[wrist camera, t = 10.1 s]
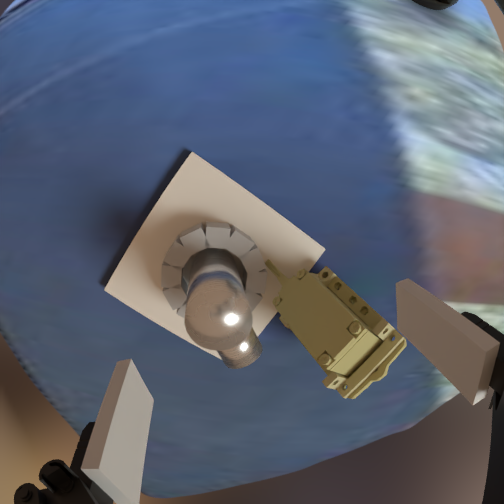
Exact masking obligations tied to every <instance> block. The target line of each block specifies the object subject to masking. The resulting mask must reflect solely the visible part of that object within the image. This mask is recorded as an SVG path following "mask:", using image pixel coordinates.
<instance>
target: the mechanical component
mask: <svg viewBox="0 0 504 504" xmlns="http://www.w3.org/2000/svg"><path fill="white" fill-rule="evenodd" d="M265 265H266V266H267V267H268V268H269V269H270V270H271V272H272V273H273V274H274V275H275V276H276V277H277V278H278V281H279V282H280V284H281V285H282V287H281V290H280V291H279V292H278V294H279V296H277V297H275V298H274V299H273V302H272V303H273V305H275V307H276V309H277V311H278V312H279V313H280V314H281V316H280V317H279V319H280V320H281V322H282V323H283V324H284V325H285V327H287V328H290V329H291V330H292V332H293V333H294V334H295V335H296V337H297V338H298V339H299V340H300V342H301V343H302V344H303V345H304V347H305V348H306V349H307V350H308V352H309V353H310V354H311V355H312V357H313V358H314V359H315V360H316V361H317V363H318V364H319V365H320V366H321V368H322V369H323V370H324V371H325V373H326V374H327V375H328V376H327V377H326V378H325V379H324V380H323V381H322V382H323V383H324V385H325V386H326V387H327V388H331V389H336V390H337V391H338V392H339V393H340V394H341V396H342V397H343V398H351V399H355V398H356V397H357V396H358V395H359V394H360V393H361V392H363V391H364V390H365V389H367V388H368V386H369V385H370V384H371V383H372V382H373V381H379V380H381V379H382V378H383V377H384V376H386V375H387V371H388V367H389V365H390V364H391V363H392V362H393V361H394V360H395V359H396V358H397V356H398V355H399V354H400V353H401V352H402V350H403V349H404V348H405V347H406V339H405V338H404V337H403V336H402V335H401V334H400V333H398V332H397V331H396V330H395V329H394V328H393V327H392V326H391V325H390V324H389V323H388V322H387V321H386V320H385V319H384V318H382V317H381V316H380V315H379V314H378V313H377V312H376V311H375V310H374V309H373V308H371V307H370V306H369V305H368V304H367V303H366V302H365V301H364V300H363V299H362V298H361V297H359V296H358V295H357V294H356V293H355V292H354V291H353V290H352V289H351V288H349V287H348V286H347V285H346V284H345V283H344V282H343V281H342V280H341V279H339V278H338V277H337V275H336V274H334V273H333V272H332V271H331V270H330V269H329V268H328V267H327V266H325V267H324V269H322V270H321V271H320V273H318V274H314V273H309V272H308V271H306V270H305V269H301V270H299V271H298V272H297V276H293V277H292V278H287V277H286V276H285V275H284V274H282V273H281V272H280V270H279V269H278V268H277V267H276V266H275V265H274V264H273V263H272V262H271V261H270V260H269V259H268V260H267V261H266V262H265ZM327 287H328V288H327ZM338 288H339V290H337V289H338ZM394 336H395V340H394V341H391V340H392V338H393V337H394ZM346 385H347V386H348V387H347V389H345V387H346Z"/></svg>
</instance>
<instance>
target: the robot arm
mask: <svg viewBox="0 0 504 504" xmlns="http://www.w3.org/2000/svg"><path fill="white" fill-rule="evenodd" d="M413 1H414V2H416V3H418V4H420V5H422V6H424V7H427V8H430V9H434V10H443V9H446V8H448V7H450V6H452V5H454V4H455V3H457V2H458V0H413ZM495 2H496V3H497V5H498V6H499V8H500V10H501V11H502V13H503V14H504V0H495ZM396 298H397V329H398V330H399V331H400V332H401V333H402V334H403V335H404V336H405V337H406V338H407V339H408V340H409V341H410V342H411V343H412V344H413V345H414V346H415V347H416V348H417V349H418V350H419V351H420V352H421V353H422V354H423V355H424V356H425V357H426V358H427V359H428V360H429V361H430V362H431V363H432V364H433V365H434V366H435V367H436V368H437V369H438V370H439V371H440V372H441V373H442V374H443V375H444V376H445V377H446V378H447V379H448V380H449V381H450V382H451V383H452V384H453V385H454V386H455V387H456V388H457V389H458V390H459V391H460V392H461V393H462V394H463V396H464V397H465V398H466V399H467V400H468V401H469V402H470V403H471V404H472V405H474V404H476V403H477V402H479V401H480V400H482V399H483V398H485V397H486V395H487V392H488V389H489V386H490V387H492V388H493V389H494V393H493V396H492V400H491V403H490V406H489V409H491V407H492V405H493V415H492V433H491V445H490V455H489V456H490V457H489V464H488V472H487V479H486V485H485V490H484V496H483V501H482V504H504V334H502V333H501V332H499V331H498V330H497V329H495V328H494V327H492V326H491V325H490V326H489V324H488V323H487V322H485V321H483V320H482V319H481V318H479V317H478V316H476V315H475V314H471V313H468V312H463V313H461V314H460V313H458V312H457V311H455V310H454V309H453V308H451V307H450V306H448V305H447V304H445V303H444V302H443V301H441V300H440V299H438V298H437V297H435V296H434V295H432V294H431V293H429V292H428V291H426V290H425V289H423V288H422V287H420V286H419V285H417V284H416V283H414V282H413V281H411V280H410V279H405V280H402V281H400V282H397V283H396ZM153 402H154V400H153V398H152V396H151V394H150V393H149V391H148V389H147V387H146V385H145V384H144V382H143V380H142V378H141V376H140V374H139V373H138V371H137V369H136V367H135V365H134V363H133V361H132V359H127V360H122V361H118V362H117V364H116V367H115V369H114V372H113V375H112V377H111V380H110V383H109V385H108V388H107V391H106V394H105V396H104V399H103V402H102V405H101V408H100V410H99V413H98V416H97V419H96V422H89V423H88V424H87V426H86V427H85V428H84V430H83V431H82V434H81V436H80V441H79V442H78V445H77V449H76V451H75V454H74V457H73V460H72V463H71V466H70V468H69V467H68V466H67V465H66V464H65V463H64V462H63V461H62V460H59V459H58V460H52V461H49V462H47V463H46V464H45V465H44V466H43V467H42V469H41V470H40V473H39V480H40V481H41V482H42V483H43V484H44V485H45V486H46V487H47V489H42V490H39V489H38V488H37V487H36V486H35V485H34V484H31V483H25V484H23V485H21V486H20V487H19V488H18V489H17V490H16V492H15V495H14V504H113V501H114V502H115V503H117V504H139V499H140V490H141V482H142V474H143V467H144V459H145V452H146V445H147V439H148V432H149V426H150V420H151V414H152V408H153Z"/></svg>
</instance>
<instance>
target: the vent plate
mask: <svg viewBox="0 0 504 504" xmlns="http://www.w3.org/2000/svg"><path fill="white" fill-rule="evenodd" d="M207 248H220V249H223V250H225V251H227V252H228V253H229V254H230V255H231V256H232V257H233V259H234V260H235V263H236V266H237V269H238V272H239V275H240V278H241V281H242V284H243V287H244V290H245V294H246V297H247V300H248V303H249V306H250V309H251V312H252V317H253V324H252V328H253V329H254V331H255V333H256V335H257V337H258V335H259V334H260V333H261V332H262V330H263V329H264V328H265V327H266V326H267V324H268V323H269V322H270V321H271V319H272V318H273V317H274V316H275V314H276V313H277V312H278V311H277V309H276V307H275V305H273V303H272V302H273V299H274V298H275V297H277V296H279V294H278V292H279V291H280V290H281V287H282V285H281V284H280V282H279V281H278V278H277V277H276V276H275V275H274V274H273V273H272V272H271V270H270V269H269V268H268V267H267V266H266V265H265V262H266V261H267V260H268V259H269V260H270V261H271V262H272V263H273V264H274V265H275V266H276V267H277V268H278V269H279V270H280V272H281V273H282V274H284V275H285V276H286V277H287V278H292V277H293V276H297V272H298V271H299V270H301V269H305V270H306V271H308V272H309V271H310V269H311V268H312V267H313V265H314V264H315V263H316V261H317V260H318V259H319V257H320V256H321V255H322V253H323V252H324V251H325V248H323V247H322V246H321V245H320V244H318V243H317V242H316V241H314V240H313V239H312V238H310V237H309V236H308V235H306V234H305V233H304V232H303V231H301V230H300V229H299V228H297V227H296V226H295V225H293V224H292V223H291V222H289V221H288V220H287V219H285V218H284V217H283V216H281V215H280V214H279V213H277V212H276V211H274V210H273V209H272V208H270V207H269V206H268V205H266V204H265V203H264V202H262V201H261V200H260V199H258V198H257V197H255V196H254V195H253V194H251V193H250V192H249V191H247V190H246V189H244V188H243V187H242V186H240V185H239V184H237V183H236V182H235V181H233V180H232V179H230V178H229V177H228V176H226V175H225V174H223V173H222V172H221V171H219V170H218V169H216V168H215V167H213V166H212V165H211V164H209V163H208V162H206V161H205V160H203V159H202V158H201V157H199V156H198V155H196V154H195V153H193V152H191V154H190V155H189V156H188V158H187V159H186V161H185V162H184V163H183V165H182V166H181V168H180V169H179V170H178V172H177V173H176V175H175V176H174V178H173V179H172V181H171V182H170V183H169V185H168V186H167V188H166V189H165V191H164V192H163V194H162V195H161V197H160V198H159V200H158V201H157V203H156V204H155V206H154V208H153V209H152V211H151V212H150V214H149V215H148V217H147V218H146V220H145V222H144V223H143V225H142V226H141V228H140V230H139V231H138V233H137V234H136V236H135V238H134V239H133V241H132V243H131V244H130V246H129V247H128V249H127V251H126V253H125V254H124V256H123V258H122V259H121V261H120V263H119V264H118V266H117V268H116V270H115V271H114V273H113V275H112V277H111V278H110V280H109V282H108V284H107V286H106V287H105V289H104V290H105V291H106V292H108V293H109V294H111V295H112V296H114V297H115V298H117V299H118V300H120V301H122V302H123V303H125V304H126V305H128V306H129V307H131V308H133V309H134V310H136V311H137V312H139V313H141V314H142V315H144V316H145V317H147V318H149V319H150V320H152V321H154V322H155V323H157V324H159V325H160V326H162V327H164V328H166V329H167V330H169V331H171V332H172V333H174V334H176V335H178V336H179V337H181V338H183V339H185V340H186V341H188V342H190V343H192V344H194V345H195V346H197V347H199V348H201V349H203V350H205V351H206V352H208V353H210V354H212V355H214V356H216V357H218V358H220V359H221V357H220V355H219V354H218V352H217V351H216V350H209V349H206V348H203V347H201V346H199V345H198V344H196V343H195V342H194V341H193V340H192V339H191V338H190V336H189V335H188V333H187V331H186V328H185V321H184V319H185V310H186V301H187V292H188V284H189V275H190V267H191V263H192V260H193V259H194V257H195V256H196V255H197V254H198V253H199V252H200V251H202V250H204V249H207ZM221 360H222V359H221Z"/></svg>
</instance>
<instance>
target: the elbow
mask: <svg viewBox="0 0 504 504" xmlns="http://www.w3.org/2000/svg"><path fill="white" fill-rule="evenodd" d="M184 321H185V328H186V331H187V333H188V335H189V336H190V338H191V339H192V340H193V341H194V342H195V343H196V344H198V345H199V346H201V347H203V348H206V349H209V350H216V351H217V352H218V354H219V355H220V357H221V359H222V360H223V362H224V364H225V365H226V366H227V367H228V368H232V369H238V368H242V367H245V366H247V365H249V364H251V363H253V362H254V361H255V360H256V359H257V358H258V357H259V356H260V354H261V352H262V345H261V343H260V341H259V339H258V337H257V335H256V333H255V331H254V329H253V328H252V324H253V317H252V312H251V309H250V306H249V303H248V300H247V297H246V294H245V290H244V287H243V284H242V281H241V278H240V275H239V272H238V269H237V266H236V263H235V260H234V259H233V257H232V256H231V255H230V254H229V253H228V252H227V251H225V250H223V249H220V248H207V249H204V250H202V251H200V252H199V253H198V254H197V255H196V256H195V257H194V259H193V260H192V263H191V267H190V275H189V284H188V292H187V301H186V310H185V319H184Z"/></svg>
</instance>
